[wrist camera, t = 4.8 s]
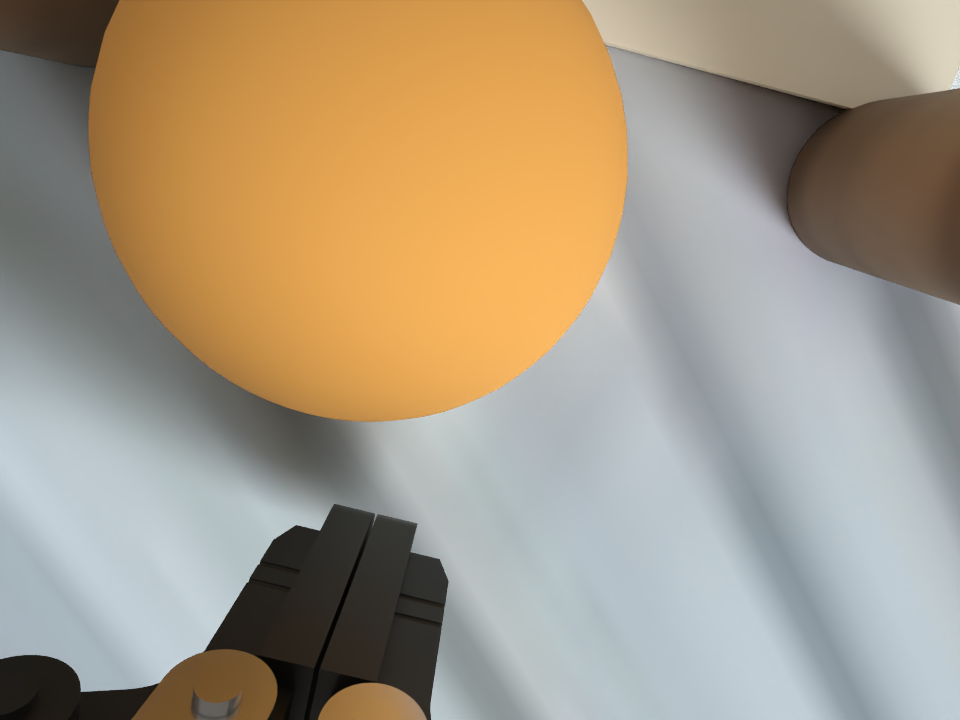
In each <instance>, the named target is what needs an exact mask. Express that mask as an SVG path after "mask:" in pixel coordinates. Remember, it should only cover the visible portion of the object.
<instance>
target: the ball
mask: <svg viewBox="0 0 960 720" xmlns="http://www.w3.org/2000/svg"><path fill="white" fill-rule="evenodd" d="M88 124H89V151H90V163H91V174H92V178H93V182H94V186H95V191H96V195H97V199H98V203H99V207H100V210H101V214H102V218H103V221H104V225H105V227H106V230H107V232H108V235H109V237H110V240H111V243H112V245H113V248H114V250H115V252H116V254H117V256H118V258H119V259H120V261H121V263H122V265H123V267H124V269H125V271H126V272H127V274H128V276H129V278H130V279H131V281H132V283H133V285H134V286H135V288H136V290H137V291H138V293H139V294H140V296H141V297H142V298H143V300H144V301H145V303H146V304H147V306H148V307H149V308H150V310H151V311H152V312H153V314H154V315H155V316H156V317H157V318H158V319H159V321H160V322H161V323H162V324H163V325H164V326H165V327H166V329H167V330H168V331H169V332H170V333H171V334H172V335H174V336H175V337H176V338H177V339H178V340H179V341H180V342H181V343H182V344H183V345H184V346H185V347H186V348H187V349H188V350H189V351H190V352H191V353H193V354H194V355H195V356H196V357H197V358H199V359H200V360H201V361H202V362H204V363H205V364H206V365H207V366H209V367H210V368H211V369H212V370H214V371H215V372H217V373H218V374H220V375H221V376H223V377H224V378H226V379H227V380H229V381H230V382H232V383H234V384H236V385H238V386H239V387H241V388H243V389H245V390H247V391H248V392H250V393H253V394H255V395H257V396H259V397H261V398H263V399H266V400H268V401H270V402H273V403H276V404H278V405H281V406H284V407H286V408H289V409H293V410H296V411H300V412H303V413H307V414H310V415H315V416H320V417H325V418H330V419H338V420H346V421H363V422H377V421H394V420H403V419H410V418H418V417H424V416H428V415H432V414H437V413H441V412H445V411H447V410H450V409H453V408H456V407H459V406H462V405H464V404H467V403H469V402H471V401H474V400H476V399H478V398H480V397H482V396H484V395H486V394H488V393H491V392H493V391H495V390H497V389H499V388H500V387H502V386H503V385H505V384H506V383H508V382H509V381H511V380H512V379H514V378H516V377H517V376H518V375H520V374H521V373H522V372H524V371H525V370H526V369H527V368H529V367H530V366H531V365H533V364H534V363H535V362H536V361H537V360H538V359H540V358H541V357H542V356H543V355H544V354H545V353H547V352H548V351H549V350H550V349H551V348H552V347H553V345H554V344H555V343H556V342H557V341H558V340H559V339H560V338H561V336H562V335H563V334H564V333H565V332H566V331H567V329H568V328H569V327H570V326H571V325H572V323H573V322H574V321H575V320H576V318H577V317H578V316H579V314H580V313H581V311H582V309H583V308H584V306H585V305H586V303H587V302H588V300H589V299H590V297H591V296H592V294H593V292H594V290H595V288H596V285H597V283H598V281H599V279H600V277H601V275H602V273H603V271H604V269H605V267H606V264H607V262H608V260H609V258H610V256H611V253H612V250H613V246H614V243H615V240H616V236H617V233H618V230H619V226H620V221H621V217H622V213H623V207H624V200H625V193H626V186H627V179H628V176H627V128H626V121H625V115H624V108H623V101H622V95H621V92H620V88H619V85H618V82H617V78H616V75H615V72H614V68H613V65H612V62H611V59H610V56H609V53H608V51H607V48H606V46H605V44H604V42H603V39H602V37H601V35H600V33H599V31H598V28H597V26H596V24H595V22H594V20H593V17H592V15H591V14H590V12H589V10H588V9H587V7H586V6H585V4H584V3H583V1H582V0H119V2H118V4H117V6H116V9H115V11H114V13H113V15H112V17H111V20H110V22H109V24H108V26H107V28H106V31H105V33H104V37H103V41H102V45H101V49H100V53H99V57H98V61H97V65H96V69H95V73H94V77H93V81H92V85H91V92H90V105H89V118H88Z"/></svg>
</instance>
